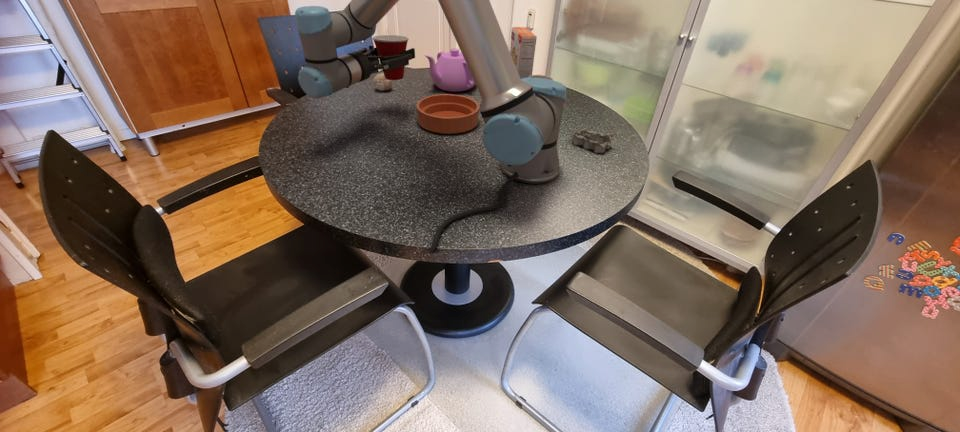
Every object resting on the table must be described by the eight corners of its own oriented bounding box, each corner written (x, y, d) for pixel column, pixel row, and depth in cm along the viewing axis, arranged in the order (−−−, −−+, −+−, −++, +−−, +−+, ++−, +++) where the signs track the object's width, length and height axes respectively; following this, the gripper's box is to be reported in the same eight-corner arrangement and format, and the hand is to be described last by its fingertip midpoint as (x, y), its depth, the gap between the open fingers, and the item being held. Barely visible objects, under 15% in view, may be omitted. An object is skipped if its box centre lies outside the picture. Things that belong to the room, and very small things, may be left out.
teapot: (410, 85, 144) (407, 47, 136) (454, 75, 156) (454, 40, 147) (445, 102, 132) (444, 62, 123) (489, 90, 144) (491, 52, 135)
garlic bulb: (382, 94, 135) (380, 72, 130) (371, 90, 138) (368, 67, 133) (396, 89, 139) (394, 68, 134) (384, 85, 142) (382, 64, 137)
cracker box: (506, 82, 152) (511, 26, 139) (520, 82, 153) (526, 26, 140) (514, 95, 141) (521, 35, 128) (530, 94, 142) (537, 35, 129)
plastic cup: (415, 73, 121) (412, 33, 114) (407, 84, 112) (403, 41, 105) (383, 70, 122) (378, 30, 114) (372, 81, 113) (366, 39, 106)
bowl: (468, 139, 110) (468, 122, 106) (407, 129, 113) (406, 112, 110) (485, 115, 125) (485, 99, 121) (431, 106, 128) (430, 90, 125)
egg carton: (612, 147, 110) (616, 135, 108) (599, 155, 106) (603, 142, 103) (581, 135, 116) (584, 123, 113) (568, 142, 111) (570, 130, 109)
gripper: (324, 76, 106) (374, 57, 122) (386, 90, 99) (431, 68, 115) (318, 48, 101) (371, 32, 117) (382, 60, 94) (430, 42, 110)
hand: (401, 50), depth 116 cm, fingers closed on plastic cup, 9 cm apart
